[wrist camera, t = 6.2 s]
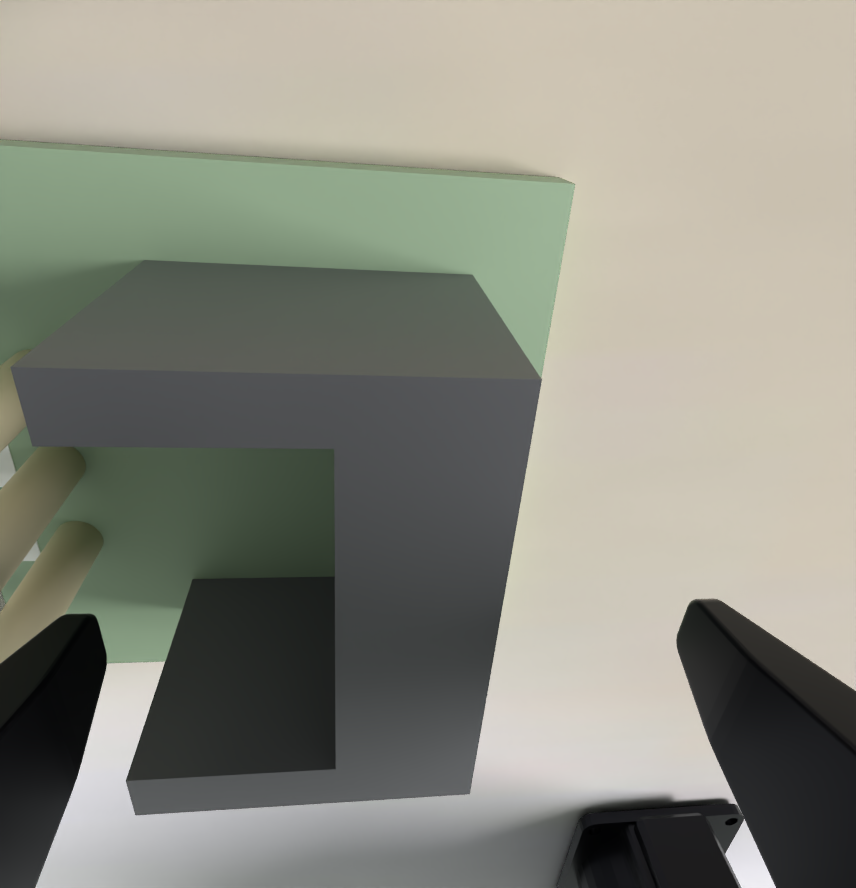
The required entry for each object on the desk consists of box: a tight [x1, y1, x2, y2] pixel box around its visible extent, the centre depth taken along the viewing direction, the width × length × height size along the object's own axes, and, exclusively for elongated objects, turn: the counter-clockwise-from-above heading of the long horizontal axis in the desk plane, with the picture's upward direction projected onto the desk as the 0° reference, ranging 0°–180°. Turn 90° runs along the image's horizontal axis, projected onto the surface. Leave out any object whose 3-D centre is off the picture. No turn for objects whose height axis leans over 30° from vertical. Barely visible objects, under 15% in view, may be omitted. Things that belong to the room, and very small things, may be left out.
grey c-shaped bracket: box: [10, 260, 542, 815], centre depth 11 cm, size 6×8×5 cm
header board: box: [0, 139, 575, 663], centre depth 12 cm, size 12×12×5 cm
